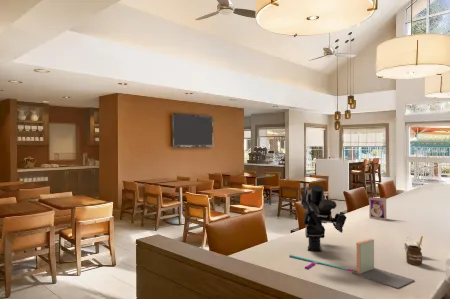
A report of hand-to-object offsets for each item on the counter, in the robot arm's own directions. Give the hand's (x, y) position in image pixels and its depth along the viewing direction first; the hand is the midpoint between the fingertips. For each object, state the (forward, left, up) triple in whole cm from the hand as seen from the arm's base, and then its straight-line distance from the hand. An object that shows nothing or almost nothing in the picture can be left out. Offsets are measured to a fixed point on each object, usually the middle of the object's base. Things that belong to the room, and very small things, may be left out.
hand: (331, 230), depth 136 cm
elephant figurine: (-26, +37, -16) cm, 48 cm away
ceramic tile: (+2, +13, -9) cm, 16 cm away
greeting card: (-111, +38, -16) cm, 118 cm away
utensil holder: (-14, +35, -16) cm, 41 cm away
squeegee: (0, -7, -16) cm, 18 cm away
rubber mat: (+6, +18, -15) cm, 25 cm away
